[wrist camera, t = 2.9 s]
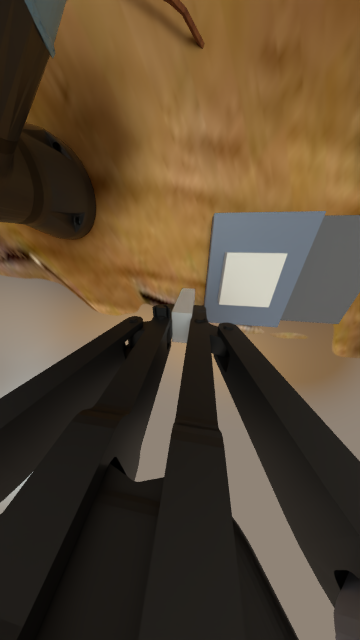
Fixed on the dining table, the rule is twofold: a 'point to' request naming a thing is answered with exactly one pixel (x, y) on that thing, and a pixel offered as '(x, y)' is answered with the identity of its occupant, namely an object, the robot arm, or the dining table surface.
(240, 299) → the coaster
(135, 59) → the dining table surface
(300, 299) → the mat
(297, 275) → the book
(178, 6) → the glasses
